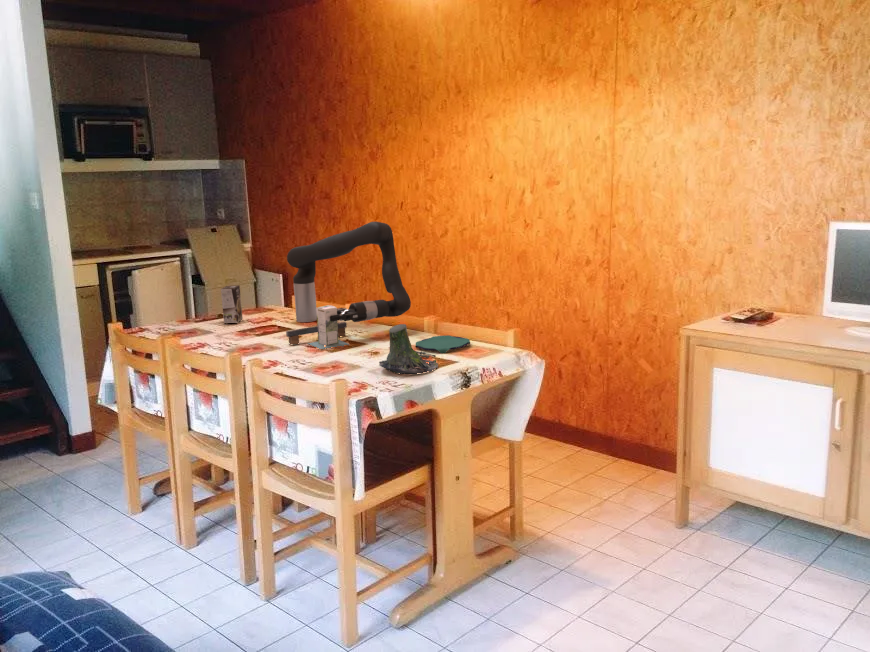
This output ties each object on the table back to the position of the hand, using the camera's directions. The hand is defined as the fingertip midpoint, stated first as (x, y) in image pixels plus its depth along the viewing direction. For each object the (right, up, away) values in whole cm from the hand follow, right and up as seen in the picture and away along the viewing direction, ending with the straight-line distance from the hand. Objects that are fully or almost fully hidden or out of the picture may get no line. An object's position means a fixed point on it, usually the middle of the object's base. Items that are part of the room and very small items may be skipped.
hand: (325, 317), depth 289 cm
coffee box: (-49, -2, +52) cm, 71 cm away
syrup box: (+1, -10, +2) cm, 11 cm away
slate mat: (+1, -11, +3) cm, 11 cm away
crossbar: (-5, -6, +10) cm, 13 cm away
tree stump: (+33, -18, -35) cm, 52 cm away
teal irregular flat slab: (+41, -13, -10) cm, 44 cm away
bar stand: (-5, -9, +11) cm, 15 cm away
